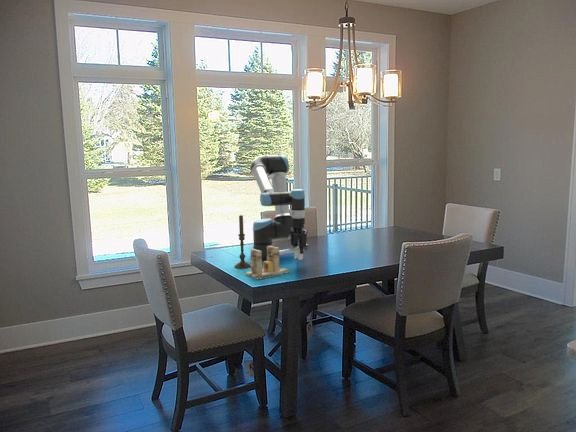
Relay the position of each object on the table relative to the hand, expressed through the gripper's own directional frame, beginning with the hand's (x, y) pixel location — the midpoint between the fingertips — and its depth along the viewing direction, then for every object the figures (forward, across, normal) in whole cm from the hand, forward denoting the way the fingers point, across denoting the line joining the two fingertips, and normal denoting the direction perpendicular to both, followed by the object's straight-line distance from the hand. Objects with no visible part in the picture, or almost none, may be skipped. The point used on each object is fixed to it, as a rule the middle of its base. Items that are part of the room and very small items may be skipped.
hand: (298, 258), depth 265 cm
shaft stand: (+5, 0, -22) cm, 22 cm away
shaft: (-3, 0, -6) cm, 7 cm away
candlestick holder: (+5, -22, -23) cm, 32 cm away
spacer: (+3, 0, -21) cm, 21 cm away
